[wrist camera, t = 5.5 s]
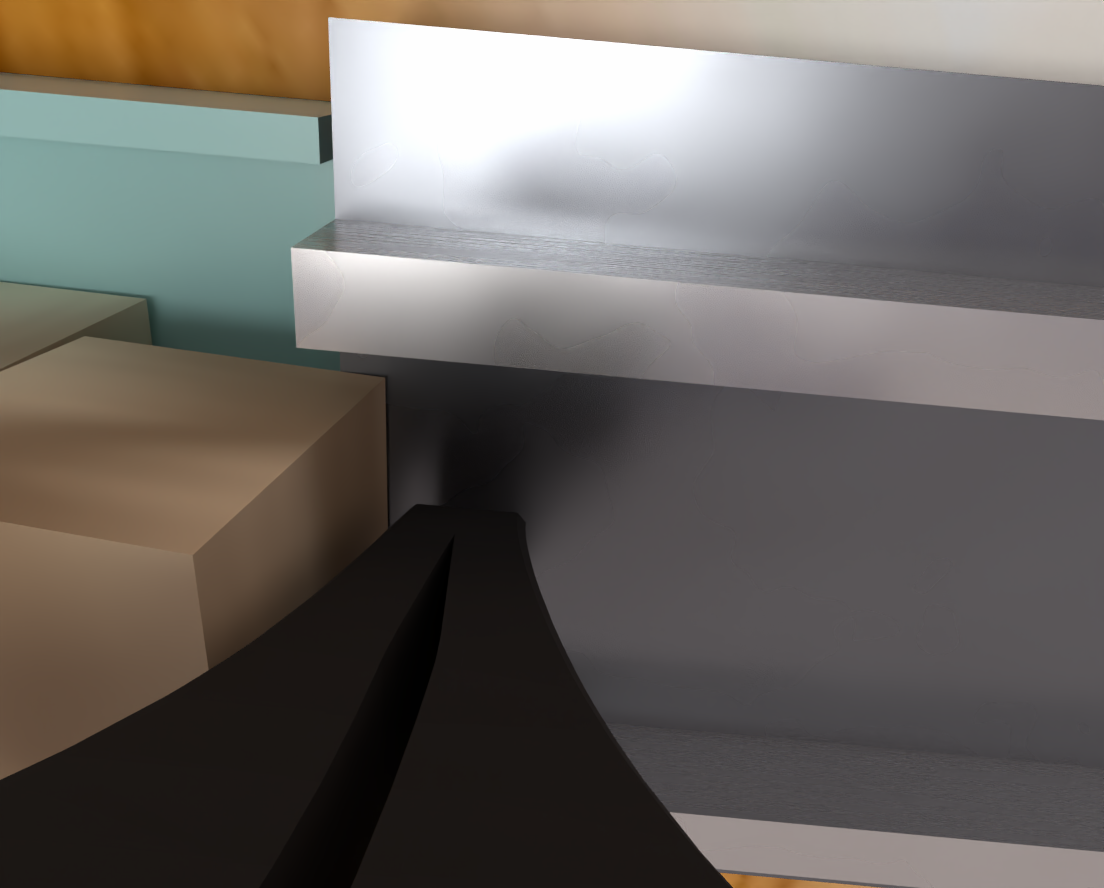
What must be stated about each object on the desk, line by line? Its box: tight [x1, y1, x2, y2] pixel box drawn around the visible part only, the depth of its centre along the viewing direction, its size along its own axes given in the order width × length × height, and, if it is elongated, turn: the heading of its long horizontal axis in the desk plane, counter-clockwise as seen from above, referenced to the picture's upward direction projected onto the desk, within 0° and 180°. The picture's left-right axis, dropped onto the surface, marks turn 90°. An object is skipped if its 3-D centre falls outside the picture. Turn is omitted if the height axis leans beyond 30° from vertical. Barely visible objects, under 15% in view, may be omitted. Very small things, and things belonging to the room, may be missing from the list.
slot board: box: [291, 17, 1104, 888], centre depth 11 cm, size 16×12×4 cm
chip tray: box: [0, 72, 340, 371], centre depth 12 cm, size 9×10×2 cm
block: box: [0, 336, 388, 780], centre depth 9 cm, size 4×4×4 cm
